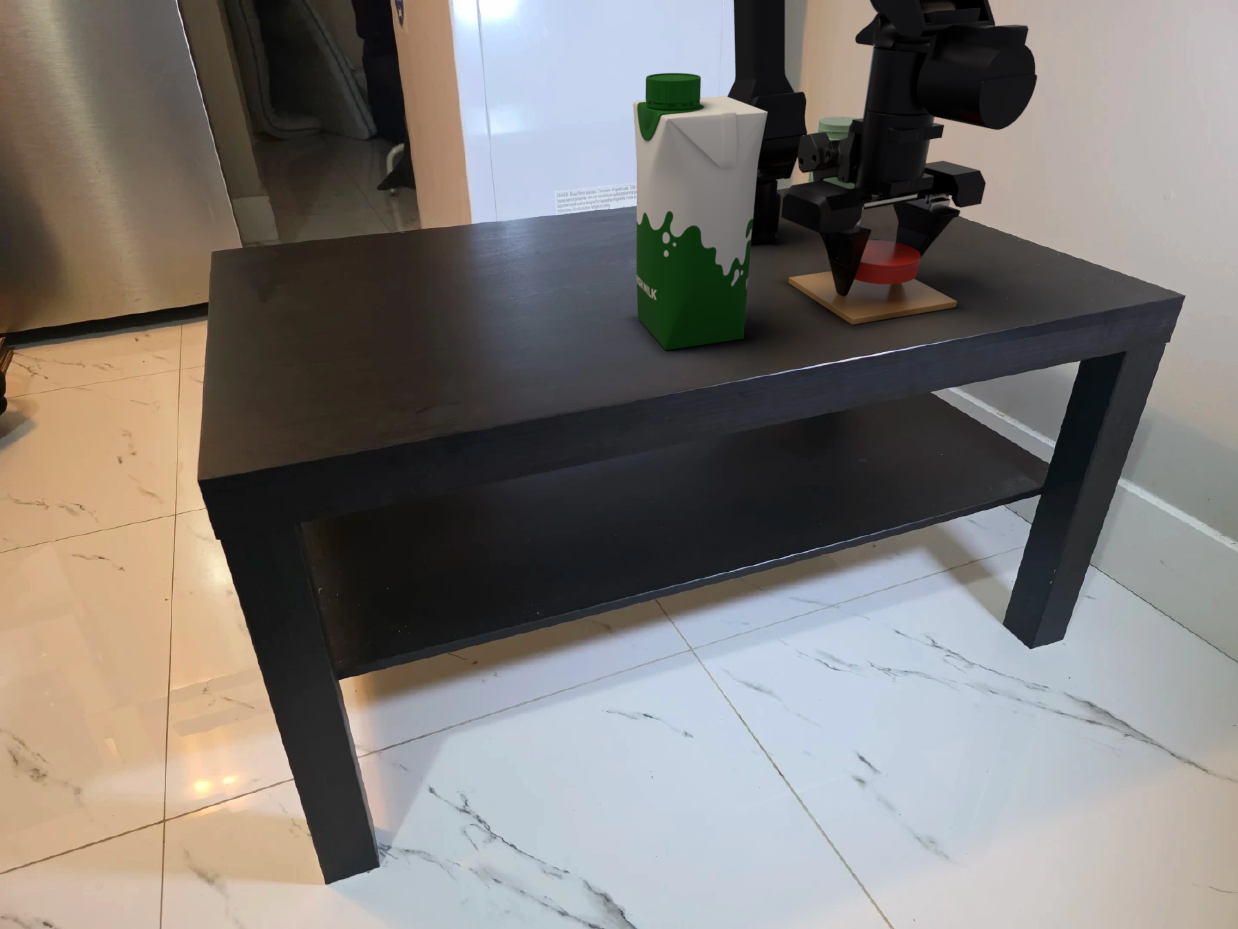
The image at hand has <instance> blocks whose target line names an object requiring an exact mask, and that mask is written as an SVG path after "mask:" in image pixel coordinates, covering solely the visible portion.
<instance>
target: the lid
mask: <svg viewBox="0 0 1238 929" xmlns="http://www.w3.org/2000/svg"><path fill="white" fill-rule="evenodd" d="M920 257H921V254H920V252H919V251H918V250H916V249H915V248H913V247H911V246H908V245H905V244H901V243H897V242H896V241H890V240H881V239H879V240H878V239H877V240H876V239H872V240H871V239H868V242H867V245H866V247H865V250H864V253H863V256H862V259H861V261H860V264H859V267H858V270H857V273H856V276H855V278H854V279H855V280H858V281H862V282H867V283H873V284H899V283H904V282H908V281H911V280H913V279H915V278H916V277H917V276H918V273H919V269H920V268H919V267H920V262H921V259H920ZM921 258H922V257H921Z"/></svg>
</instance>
